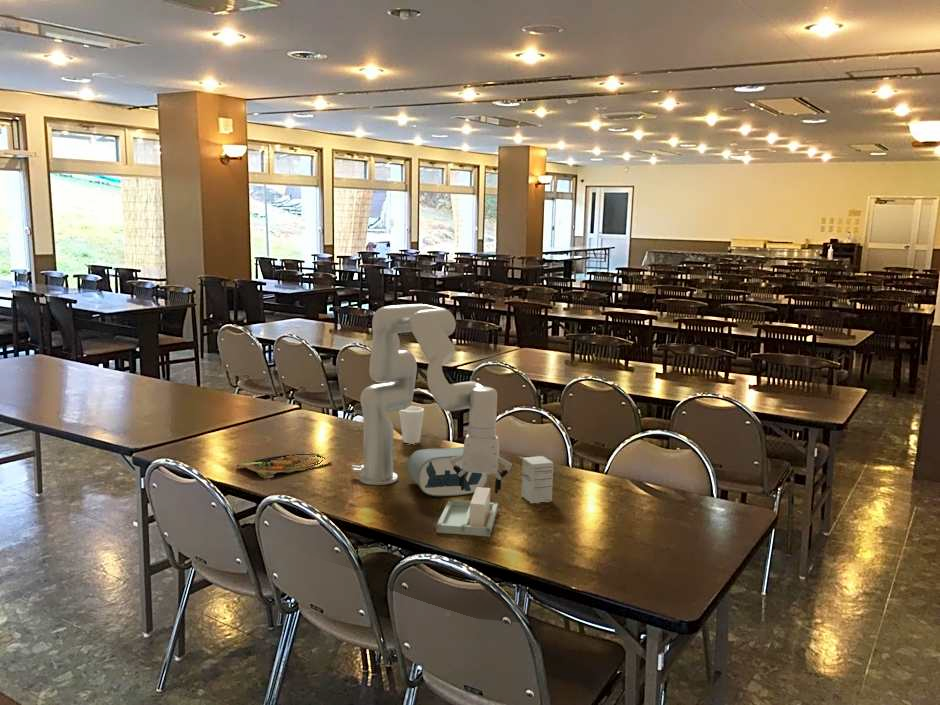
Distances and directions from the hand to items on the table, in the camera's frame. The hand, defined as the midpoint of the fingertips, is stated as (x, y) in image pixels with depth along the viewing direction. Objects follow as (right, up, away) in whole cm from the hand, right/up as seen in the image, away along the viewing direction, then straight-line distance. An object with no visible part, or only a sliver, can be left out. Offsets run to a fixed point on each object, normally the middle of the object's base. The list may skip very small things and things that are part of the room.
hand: (479, 490), depth 224 cm
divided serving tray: (-3, -9, +2) cm, 10 cm away
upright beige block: (0, -8, +1) cm, 8 cm away
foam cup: (-25, +4, +80) cm, 84 cm away
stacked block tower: (+18, -7, +21) cm, 28 cm away
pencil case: (-10, -5, +30) cm, 32 cm away
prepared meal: (-66, -1, +47) cm, 81 cm away
